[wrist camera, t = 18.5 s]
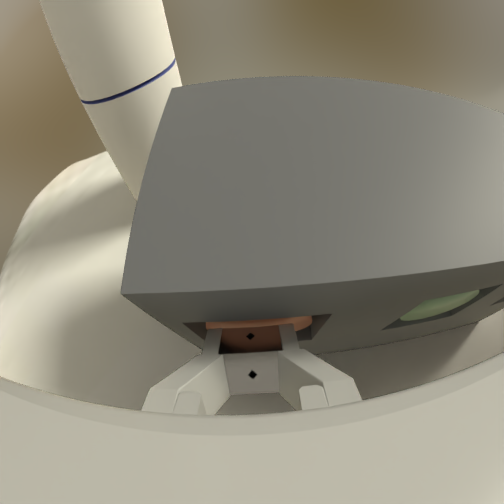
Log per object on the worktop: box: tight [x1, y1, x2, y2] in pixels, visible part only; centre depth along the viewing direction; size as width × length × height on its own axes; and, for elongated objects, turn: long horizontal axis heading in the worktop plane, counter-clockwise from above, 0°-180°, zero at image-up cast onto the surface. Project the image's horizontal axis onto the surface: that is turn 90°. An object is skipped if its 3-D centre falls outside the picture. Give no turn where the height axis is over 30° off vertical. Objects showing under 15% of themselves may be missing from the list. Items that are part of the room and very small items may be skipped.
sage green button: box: [400, 290, 479, 321], centre depth 11 cm, size 4×3×4 cm
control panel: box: [121, 76, 504, 355], centre depth 14 cm, size 22×9×14 cm, turn 92°
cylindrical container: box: [39, 0, 182, 201], centre depth 15 cm, size 7×7×25 cm
